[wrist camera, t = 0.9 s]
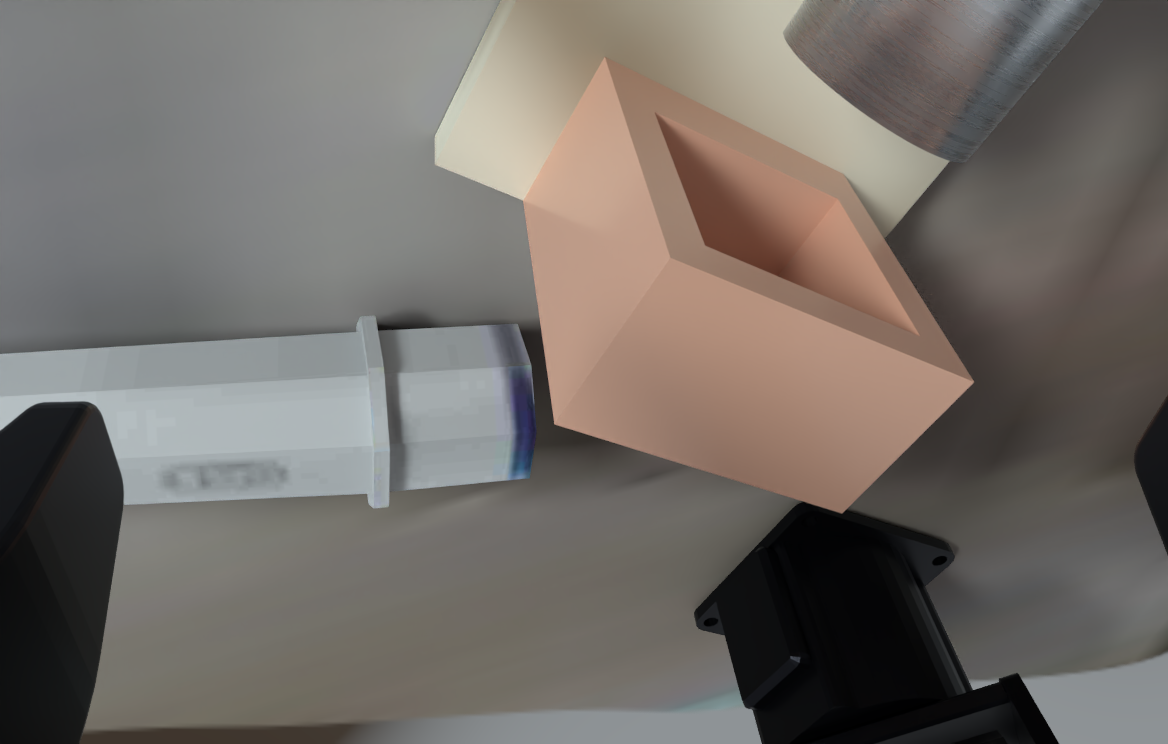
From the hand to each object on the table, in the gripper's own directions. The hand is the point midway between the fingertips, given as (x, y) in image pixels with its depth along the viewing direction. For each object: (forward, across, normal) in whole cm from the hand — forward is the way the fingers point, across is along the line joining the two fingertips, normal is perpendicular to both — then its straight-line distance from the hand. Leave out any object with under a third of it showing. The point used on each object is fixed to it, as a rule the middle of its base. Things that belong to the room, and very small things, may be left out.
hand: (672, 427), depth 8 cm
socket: (+12, -3, +5) cm, 14 cm away
